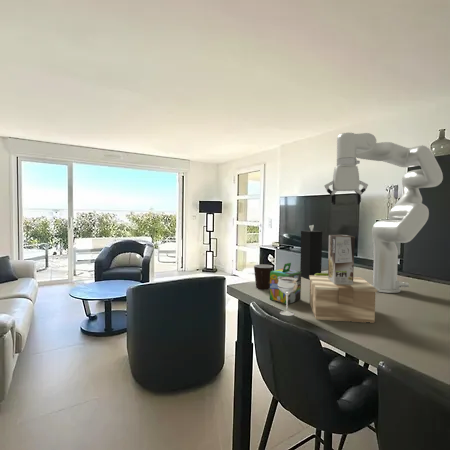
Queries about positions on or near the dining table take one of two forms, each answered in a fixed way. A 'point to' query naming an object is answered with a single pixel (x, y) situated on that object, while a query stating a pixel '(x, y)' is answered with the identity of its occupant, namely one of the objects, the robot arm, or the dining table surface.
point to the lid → (342, 287)
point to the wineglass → (287, 290)
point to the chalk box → (274, 290)
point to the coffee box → (341, 259)
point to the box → (342, 306)
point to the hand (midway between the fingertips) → (345, 204)
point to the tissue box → (311, 252)
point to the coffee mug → (262, 276)
